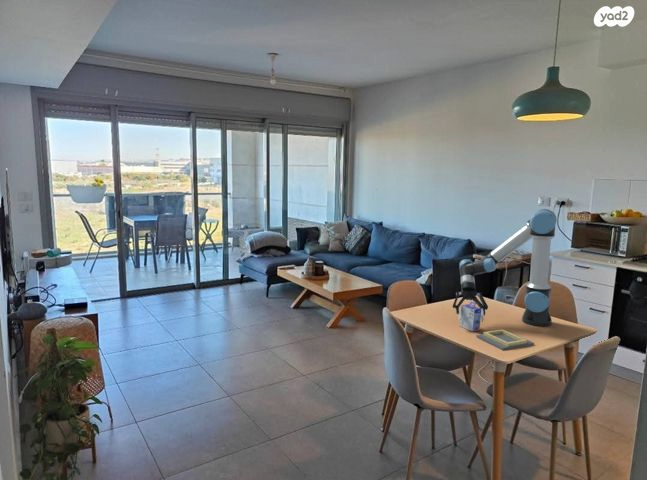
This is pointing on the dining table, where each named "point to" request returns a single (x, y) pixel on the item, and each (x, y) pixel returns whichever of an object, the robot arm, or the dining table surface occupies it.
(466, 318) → the ink cartridge box
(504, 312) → the dining table surface
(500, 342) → the dock
